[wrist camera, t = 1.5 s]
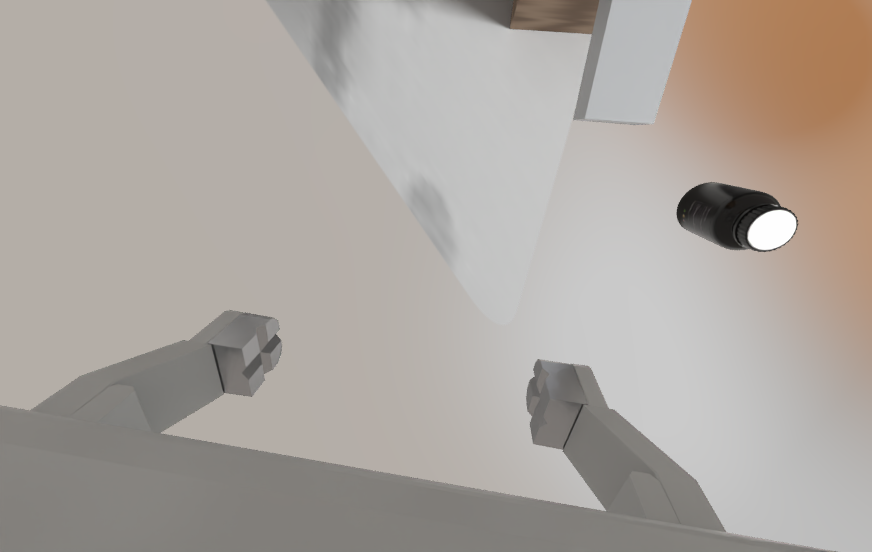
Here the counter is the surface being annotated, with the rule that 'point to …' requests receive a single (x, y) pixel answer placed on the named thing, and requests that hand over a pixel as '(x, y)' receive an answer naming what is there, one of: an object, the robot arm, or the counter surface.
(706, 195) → the supplement bottle
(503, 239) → the counter surface
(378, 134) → the counter surface
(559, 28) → the socket tower
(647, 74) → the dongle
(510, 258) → the counter surface
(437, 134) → the counter surface
